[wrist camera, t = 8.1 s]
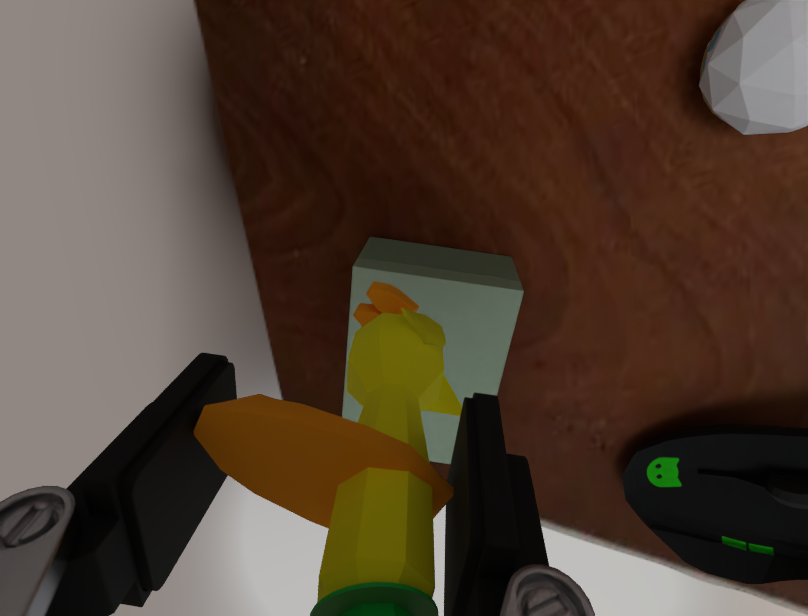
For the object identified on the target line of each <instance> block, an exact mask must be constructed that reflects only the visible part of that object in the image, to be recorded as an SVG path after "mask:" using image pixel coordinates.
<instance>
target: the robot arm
mask: <svg viewBox="0 0 808 616" xmlns="http://www.w3.org/2000/svg"><path fill="white" fill-rule="evenodd" d="M235 399H237V395H236V381H235V368H234V365H233V363H229V362H228V359H227V357H226V356H222V355H215V354H209V353H200V354H199V355H198V356H197V357H196V358H195V359H194V360H193V361H192V362H191V363H190V364H189V365H188V366H187V367H186V368H185V369H184V370H183V371H182V372H181V373H180V375H178V377H177V378H176V379H175V380H174V381H173V382H172V383H171V384H170V385H169V386H168V387H167V388H166V389H165V390H164V391H163V392H162V393H161V394H160V395H159V396H158V397H157V398H156V399H155V400H154V402H152V403H150V404H149V405H148V406H147V407H145V409H144V410H143V411H142V412H141V413H140V414H139V415H138V416H137V417H136V418H135V419H134V420H133V421H132V422H131V423H130V424H129V425H128V426H127V427H126V428H125V429H124V430H123V431H122V432H121V433H120V434H119V435H118V436H117V437H116V438H115V439H114V440H113V441H112V442H111V443H110V444H109V446H108V447H107V448H106V449H105V450H104V451H103V452H102V453H101V454H100V455H99V456H98V457H97V458H96V459H95V460H94V461H93V462H92V463H91V464H90V465H89V466H88V467H87V468H86V469H85V470H84V471H83V472H82V473H81V474H80V475H79V476H78V477H77V478H76V479H75V480H74V481H73V483H72V484H71V485H70V486H69V487H68V488H67V489H64V488H61V487H58V486H41V487H36V488H32V489H27V490H25V491H22V492H19V493H17V494H14V495H12V496H10V497H8V498H6V499H5V500H3V501H1V502H0V616H109V615H111V614H113V613H114V612H115V611H116V609H117V607H118V606H119V605H120V604H126V605H132V606H137V607H143V605H144V603H145V602H146V600H147V598H148V597H149V595H150V593H151V591H152V590H153V591H157V590H159V589H160V588H161V587H162V586H163V584H164V583H165V581H166V580H167V578H168V576H169V574H170V573H171V571H172V569H173V567H174V566H175V564H176V563H177V561H178V559H179V557H180V556H181V554H182V552H183V551H184V549H185V547H186V545H187V544H188V542H189V540H190V539H191V537H192V535H193V534H194V532H195V530H196V528H197V526H198V525H199V523H200V522H201V520H202V518H203V516H204V515H205V513H206V511H207V510H208V508H209V506H210V504H211V503H212V501H213V499H214V498H215V496H216V494H217V493H218V491H219V489H220V488H221V486H222V484H223V482H224V481H225V479H226V477H227V476H228V475H227V474H226V473H225V472H223V471H222V470H220V468H219V467H218V466H217V464H216V463H215V462H214V460H213V459H212V458H211V457H210V455H209V454H208V453H207V451H206V450H205V449H204V447H203V446H202V445H201V444H200V442H199V441H198V440H197V438H196V437H195V436H194V429H195V426H196V424H197V422H198V420H199V417H200V415H201V413H202V411H203V408H204V406H205V405H209V404H215V403H221V402H226V401H230V400H235ZM447 482H448V483H449V484H450V485H451V486H452V487H453V488H454V495H453V497H452V498H451V499H450V500H449V501H448V502H447V503H446V529H445V532H446V533H445V588H444V616H595V613H594V611H593V608H592V606H591V603H590V601H589V599H588V597H587V596H586V594H585V593H584V591H583V590H582V589H581V587H580V586H579V585H578V584H576V582H575V581H574V580H572V579H571V578H570V577H569V576H568V575H566V574H565V573H563V572H561V571H560V570H558V569H556V568H553V567H550V566H549V563H548V558H547V553H546V548H545V543H544V539H543V533H542V528H541V523H540V518H539V513H538V509H537V504H536V499H535V494H534V489H533V484H532V479H531V474H530V469H529V464H528V461H527V459H526V457H525V456H518V455H512V454H506V449H505V442H504V435H503V428H502V421H501V414H500V408H499V401H498V396H496V395H490V394H483V393H476V392H474V394H473V397H472V398H468V397H465V398H464V401H463V406H462V411H461V415H460V420H459V425H458V430H457V435H456V440H455V445H454V450H453V454H452V459H451V464H450V469H449V474H448V479H447Z"/></svg>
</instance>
